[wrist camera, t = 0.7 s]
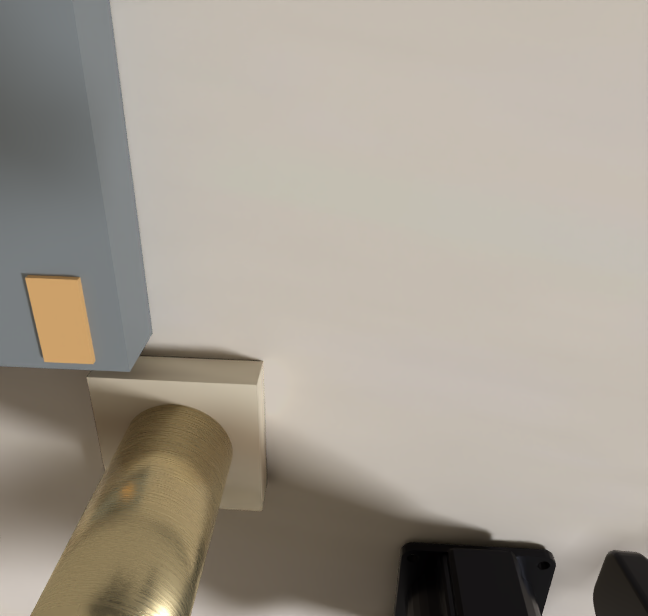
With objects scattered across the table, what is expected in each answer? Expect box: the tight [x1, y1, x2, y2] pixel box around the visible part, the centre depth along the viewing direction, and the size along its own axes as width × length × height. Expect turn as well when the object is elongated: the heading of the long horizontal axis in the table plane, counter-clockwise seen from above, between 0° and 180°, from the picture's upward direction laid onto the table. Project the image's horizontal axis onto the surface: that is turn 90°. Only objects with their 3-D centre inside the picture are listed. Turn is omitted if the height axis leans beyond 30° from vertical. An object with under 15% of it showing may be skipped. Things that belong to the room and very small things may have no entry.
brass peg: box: [30, 404, 233, 616], centre depth 19 cm, size 4×4×8 cm
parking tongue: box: [86, 356, 267, 511], centre depth 24 cm, size 6×6×2 cm
